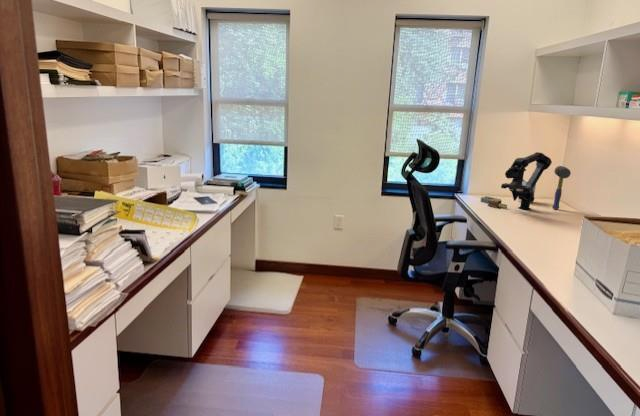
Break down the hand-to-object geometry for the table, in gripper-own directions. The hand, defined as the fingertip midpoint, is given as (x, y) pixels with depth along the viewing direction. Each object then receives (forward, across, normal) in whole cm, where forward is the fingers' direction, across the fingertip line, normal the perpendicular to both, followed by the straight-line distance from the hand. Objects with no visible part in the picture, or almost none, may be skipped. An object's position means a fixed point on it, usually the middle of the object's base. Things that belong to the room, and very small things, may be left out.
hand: (514, 200), depth 290 cm
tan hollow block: (+7, -13, 0) cm, 15 cm away
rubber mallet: (+7, +17, +30) cm, 35 cm away
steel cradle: (+7, -20, +9) cm, 23 cm away
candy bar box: (+7, -5, +34) cm, 35 cm away
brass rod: (+7, -10, 0) cm, 13 cm away
